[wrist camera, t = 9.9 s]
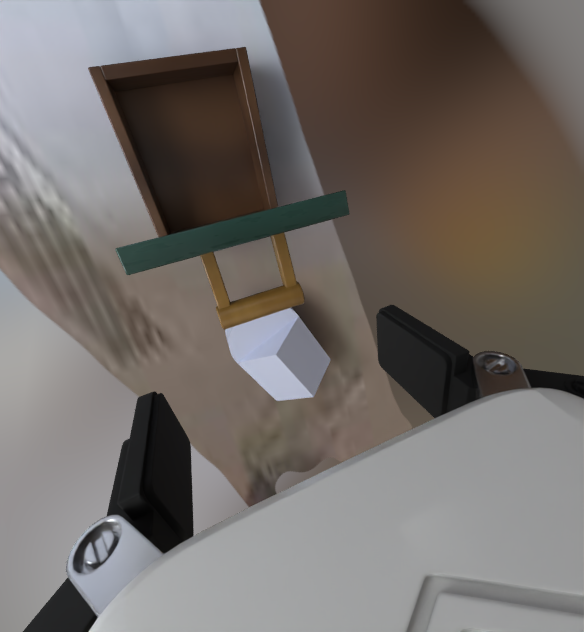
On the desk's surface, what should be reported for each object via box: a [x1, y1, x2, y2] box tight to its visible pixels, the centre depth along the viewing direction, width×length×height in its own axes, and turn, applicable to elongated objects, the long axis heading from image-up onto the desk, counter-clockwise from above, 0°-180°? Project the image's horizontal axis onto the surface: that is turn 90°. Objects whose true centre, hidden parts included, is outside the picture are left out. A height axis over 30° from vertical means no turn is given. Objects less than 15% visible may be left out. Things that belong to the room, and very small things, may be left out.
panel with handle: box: [116, 190, 349, 330], centre depth 20 cm, size 13×11×6 cm
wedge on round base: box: [225, 295, 331, 401], centre depth 34 cm, size 9×7×13 cm
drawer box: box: [88, 47, 278, 237], centre depth 25 cm, size 13×11×4 cm
